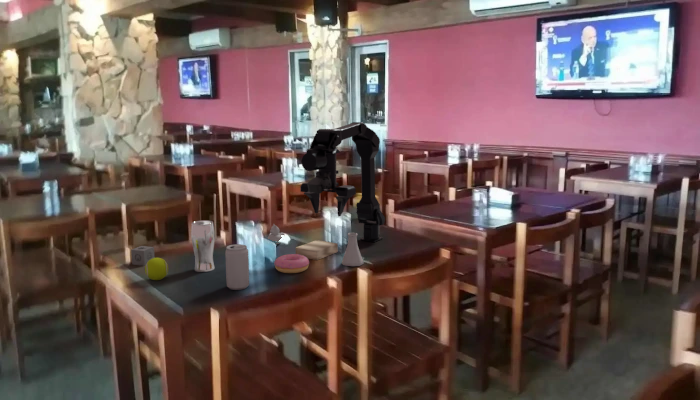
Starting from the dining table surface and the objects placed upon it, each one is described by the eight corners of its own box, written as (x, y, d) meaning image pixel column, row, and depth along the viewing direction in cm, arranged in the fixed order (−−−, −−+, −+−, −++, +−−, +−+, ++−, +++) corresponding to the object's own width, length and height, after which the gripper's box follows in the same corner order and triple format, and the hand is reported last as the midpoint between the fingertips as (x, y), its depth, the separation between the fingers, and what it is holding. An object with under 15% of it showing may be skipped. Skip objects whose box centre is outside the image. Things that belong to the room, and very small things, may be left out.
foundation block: (316, 248, 210) (316, 240, 210) (337, 251, 206) (337, 243, 205) (295, 256, 200) (295, 247, 200) (317, 260, 196) (317, 251, 195)
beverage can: (228, 283, 172) (226, 243, 170) (250, 283, 173) (248, 243, 170) (225, 291, 166) (223, 249, 164) (248, 290, 166) (247, 249, 164)
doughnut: (316, 269, 186) (316, 257, 185) (287, 277, 179) (287, 263, 178) (295, 262, 194) (295, 250, 193) (267, 269, 187) (267, 256, 186)
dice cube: (142, 260, 196) (141, 245, 196) (154, 261, 195) (153, 247, 194) (132, 264, 192) (131, 249, 191) (144, 266, 190) (143, 250, 189)
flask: (364, 260, 195) (364, 231, 193) (362, 267, 188) (362, 236, 186) (342, 260, 196) (342, 230, 194) (340, 266, 188) (340, 236, 187)
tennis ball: (145, 277, 178) (143, 256, 177) (168, 275, 180) (166, 254, 179) (146, 284, 172) (144, 262, 171) (170, 281, 174) (168, 259, 173)
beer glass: (220, 267, 188) (218, 221, 186) (208, 273, 182) (205, 225, 179) (201, 265, 191) (198, 219, 188) (188, 271, 184) (186, 224, 182)
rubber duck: (264, 243, 217) (264, 222, 215) (280, 241, 221) (280, 220, 219) (272, 246, 212) (271, 225, 211) (288, 244, 216) (287, 222, 215)
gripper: (289, 168, 192) (290, 215, 195) (337, 172, 182) (337, 222, 185) (310, 165, 201) (310, 210, 204) (356, 168, 191) (356, 216, 194)
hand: (327, 214), depth 196 cm, fingers open, 9 cm apart
